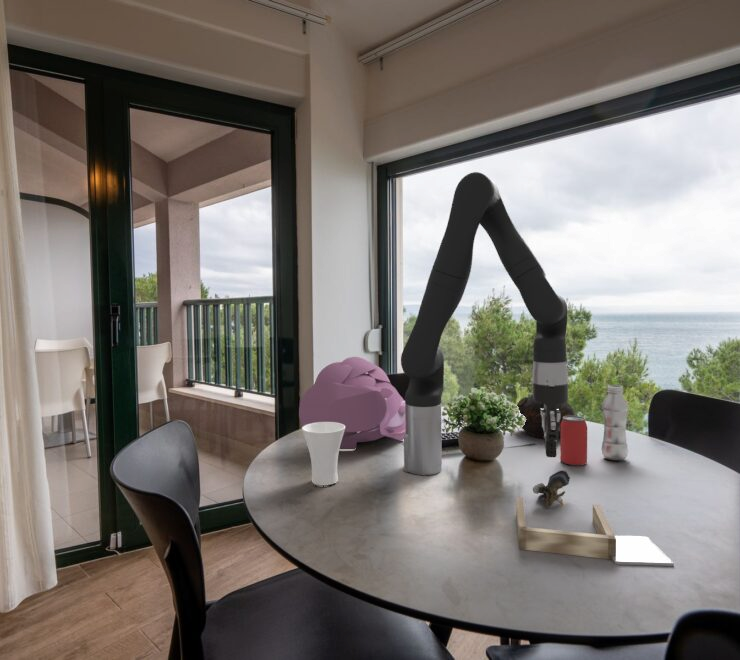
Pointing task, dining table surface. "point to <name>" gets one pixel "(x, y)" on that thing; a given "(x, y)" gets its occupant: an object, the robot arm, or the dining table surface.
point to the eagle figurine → (553, 487)
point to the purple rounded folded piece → (355, 402)
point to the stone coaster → (639, 552)
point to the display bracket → (568, 537)
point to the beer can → (573, 441)
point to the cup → (324, 450)
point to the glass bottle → (539, 415)
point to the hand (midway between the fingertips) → (551, 456)
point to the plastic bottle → (615, 424)
